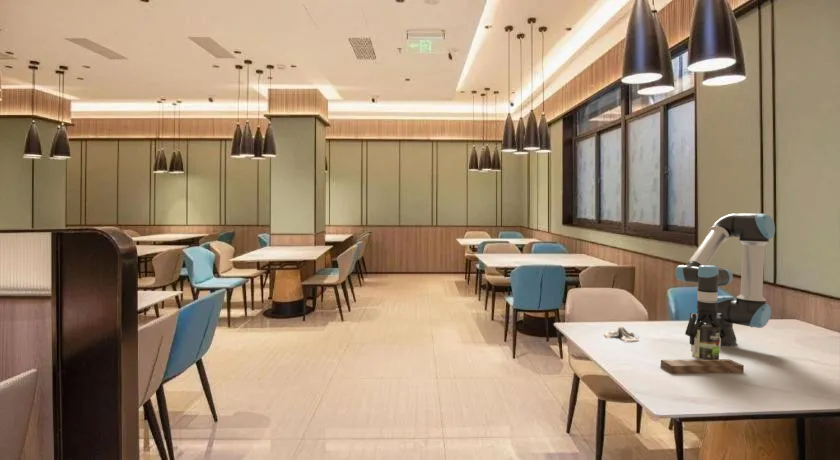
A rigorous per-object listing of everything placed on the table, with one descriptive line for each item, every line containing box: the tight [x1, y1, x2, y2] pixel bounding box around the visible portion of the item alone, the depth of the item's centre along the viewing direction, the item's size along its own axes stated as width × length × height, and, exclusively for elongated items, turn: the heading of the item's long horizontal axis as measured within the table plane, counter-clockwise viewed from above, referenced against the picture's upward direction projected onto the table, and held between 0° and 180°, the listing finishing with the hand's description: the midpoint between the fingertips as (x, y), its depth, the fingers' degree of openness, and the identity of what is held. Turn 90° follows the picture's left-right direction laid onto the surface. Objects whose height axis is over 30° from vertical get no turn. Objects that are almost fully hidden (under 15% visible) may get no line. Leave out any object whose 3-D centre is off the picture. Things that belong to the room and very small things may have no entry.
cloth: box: [603, 325, 640, 343], centre depth 251 cm, size 22×19×6 cm
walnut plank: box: [660, 358, 745, 374], centre depth 198 cm, size 30×8×3 cm, turn 93°
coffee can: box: [691, 323, 720, 360], centre depth 209 cm, size 10×10×14 cm
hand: (705, 352), depth 209 cm, fingers closed on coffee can, 10 cm apart
